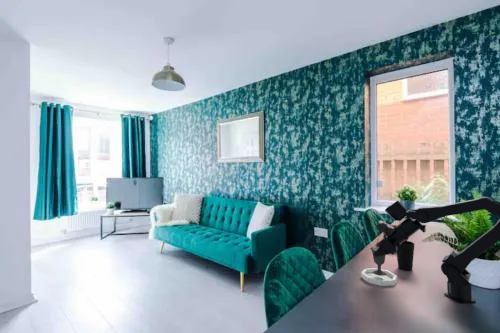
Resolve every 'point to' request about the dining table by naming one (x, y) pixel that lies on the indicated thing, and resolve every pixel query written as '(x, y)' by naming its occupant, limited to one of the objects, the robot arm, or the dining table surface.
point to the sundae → (378, 260)
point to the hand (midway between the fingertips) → (375, 253)
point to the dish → (379, 277)
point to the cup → (405, 255)
